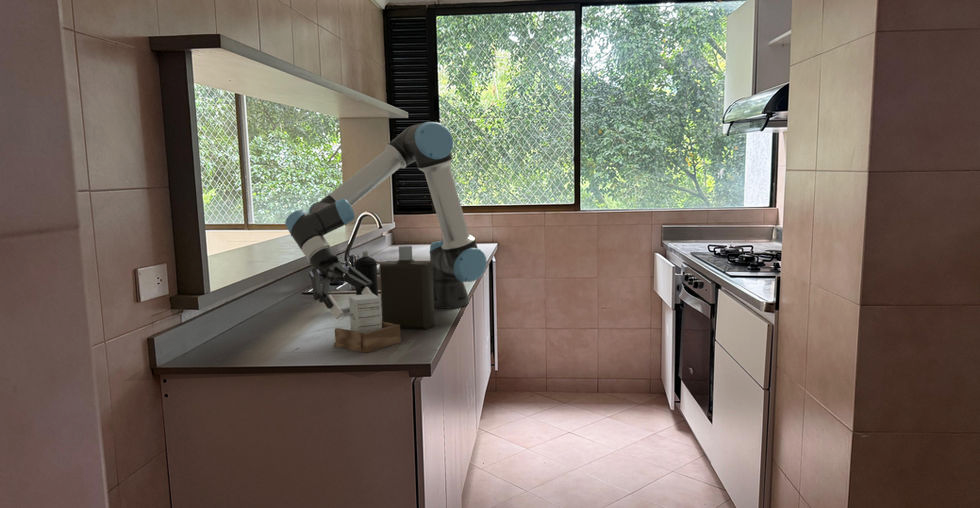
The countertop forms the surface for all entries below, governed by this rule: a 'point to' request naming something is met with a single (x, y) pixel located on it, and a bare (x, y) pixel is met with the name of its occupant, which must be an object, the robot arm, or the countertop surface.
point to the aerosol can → (367, 271)
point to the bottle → (407, 291)
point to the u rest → (368, 338)
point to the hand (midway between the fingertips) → (358, 311)
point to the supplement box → (365, 313)
